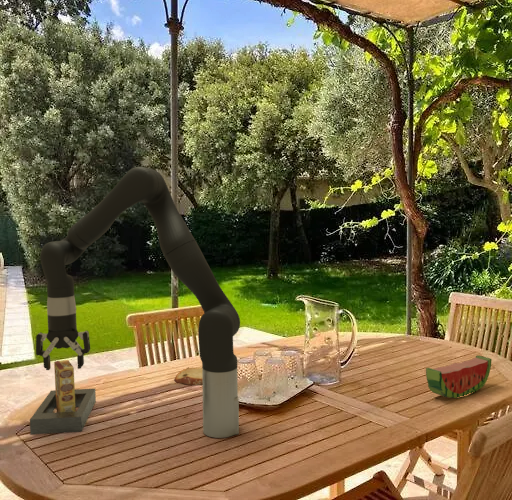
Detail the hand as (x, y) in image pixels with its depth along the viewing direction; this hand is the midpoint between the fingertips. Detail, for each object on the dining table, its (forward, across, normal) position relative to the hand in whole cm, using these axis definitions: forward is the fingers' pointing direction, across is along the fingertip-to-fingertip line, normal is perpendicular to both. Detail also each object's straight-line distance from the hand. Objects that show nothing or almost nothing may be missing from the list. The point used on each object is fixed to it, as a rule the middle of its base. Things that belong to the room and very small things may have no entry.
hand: (64, 368), depth 148 cm
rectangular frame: (+14, 0, 0) cm, 14 cm away
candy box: (+14, 0, 0) cm, 14 cm away
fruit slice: (+15, +119, +1) cm, 120 cm away
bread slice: (+15, +41, +28) cm, 51 cm away
